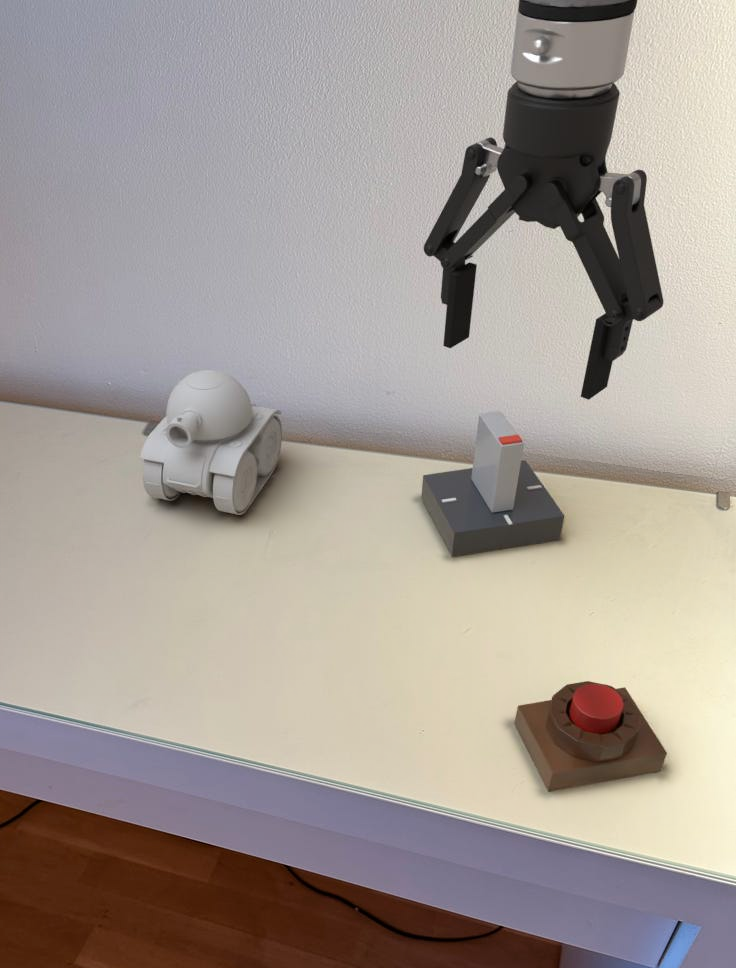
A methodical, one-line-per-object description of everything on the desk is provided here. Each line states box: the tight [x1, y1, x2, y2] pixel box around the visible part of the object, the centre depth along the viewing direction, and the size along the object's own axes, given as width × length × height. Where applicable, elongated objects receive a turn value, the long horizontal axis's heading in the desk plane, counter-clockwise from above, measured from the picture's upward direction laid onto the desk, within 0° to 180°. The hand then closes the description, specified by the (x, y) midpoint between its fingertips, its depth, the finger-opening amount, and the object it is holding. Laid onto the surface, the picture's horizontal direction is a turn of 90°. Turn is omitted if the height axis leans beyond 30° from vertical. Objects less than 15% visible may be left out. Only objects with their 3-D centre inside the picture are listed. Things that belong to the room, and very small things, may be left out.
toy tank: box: [139, 369, 283, 516], centre depth 100 cm, size 15×11×13 cm
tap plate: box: [420, 459, 566, 558], centre depth 96 cm, size 11×10×3 cm
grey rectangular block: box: [471, 410, 525, 513], centre depth 92 cm, size 6×2×8 cm, turn 10°
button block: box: [513, 680, 668, 792], centre depth 74 cm, size 9×7×4 cm
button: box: [570, 683, 623, 734], centre depth 72 cm, size 4×4×2 cm
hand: (521, 366), depth 81 cm, fingers open, 13 cm apart
